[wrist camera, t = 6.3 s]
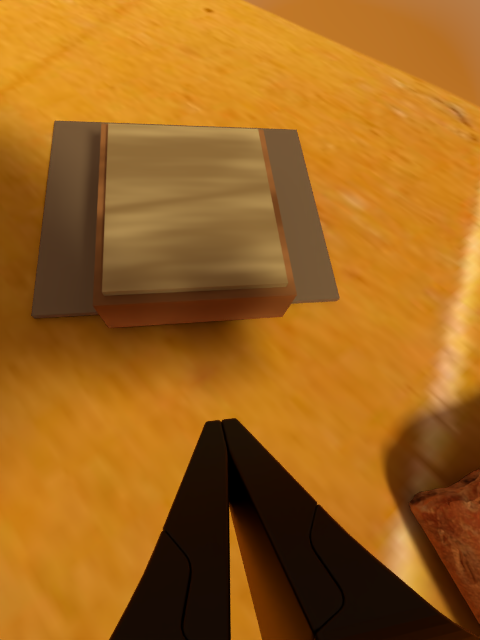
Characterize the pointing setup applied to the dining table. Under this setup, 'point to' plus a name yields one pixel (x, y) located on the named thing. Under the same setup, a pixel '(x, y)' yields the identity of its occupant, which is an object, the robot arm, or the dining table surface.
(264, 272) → the brown wooden block
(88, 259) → the charcoal rubber mat
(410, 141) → the dining table surface
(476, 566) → the ceramic shard
